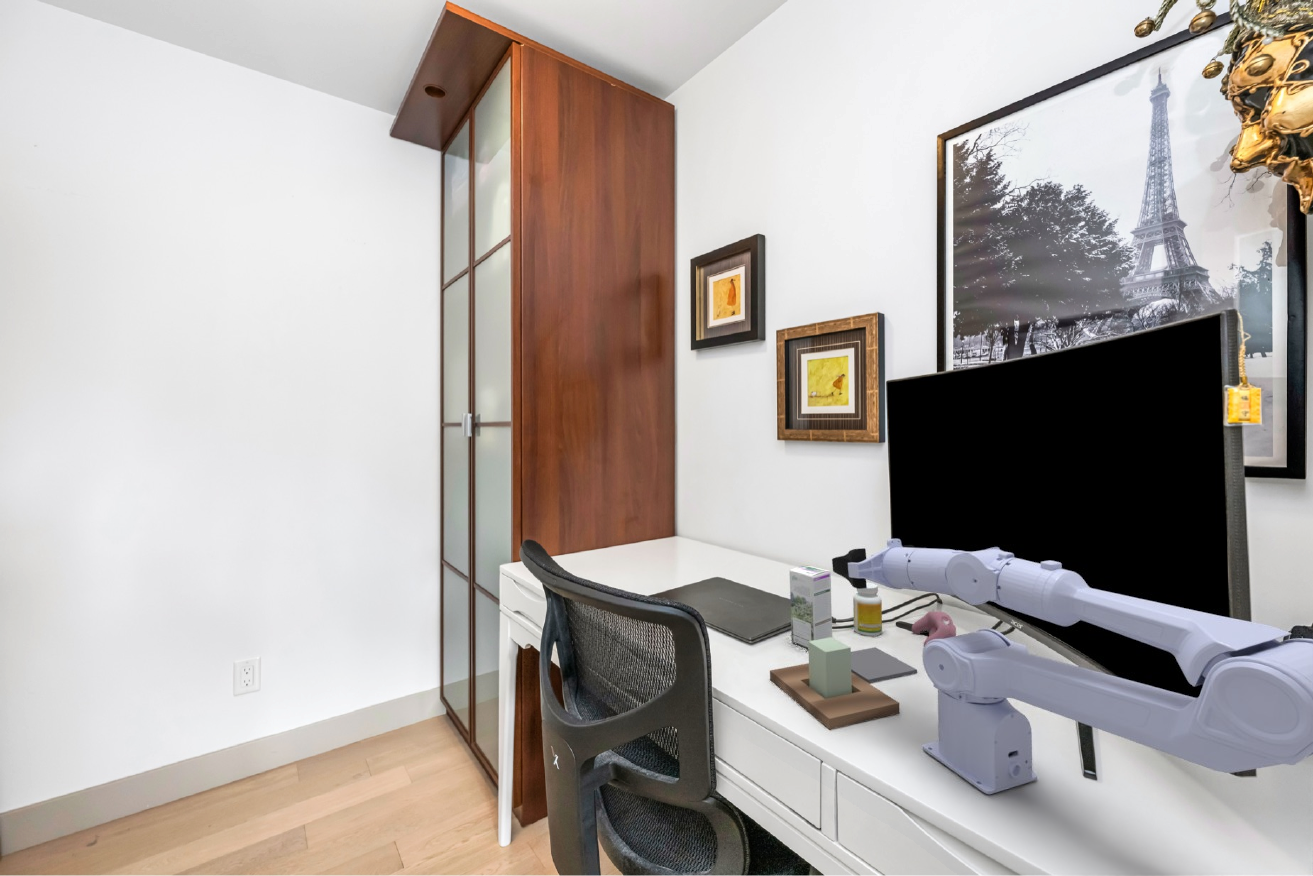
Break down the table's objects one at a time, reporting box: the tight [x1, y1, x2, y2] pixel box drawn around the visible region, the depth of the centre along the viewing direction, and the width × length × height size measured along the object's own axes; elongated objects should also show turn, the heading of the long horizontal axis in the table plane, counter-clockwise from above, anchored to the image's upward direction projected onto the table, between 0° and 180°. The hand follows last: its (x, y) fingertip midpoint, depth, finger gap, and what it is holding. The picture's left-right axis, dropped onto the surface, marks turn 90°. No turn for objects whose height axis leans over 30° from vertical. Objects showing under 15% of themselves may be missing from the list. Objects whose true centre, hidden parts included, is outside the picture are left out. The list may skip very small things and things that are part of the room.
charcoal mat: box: [851, 646, 918, 684], centre depth 93 cm, size 10×10×1 cm
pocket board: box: [769, 662, 901, 731], centre depth 83 cm, size 16×12×2 cm
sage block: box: [808, 636, 852, 699], centre depth 83 cm, size 4×4×8 cm
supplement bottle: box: [852, 581, 883, 637], centre depth 108 cm, size 5×5×10 cm
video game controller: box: [911, 609, 957, 648], centre depth 102 cm, size 10×5×7 cm, turn 168°
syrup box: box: [789, 565, 833, 649], centre depth 103 cm, size 6×6×14 cm
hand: (854, 563), depth 85 cm, fingers open, 7 cm apart
